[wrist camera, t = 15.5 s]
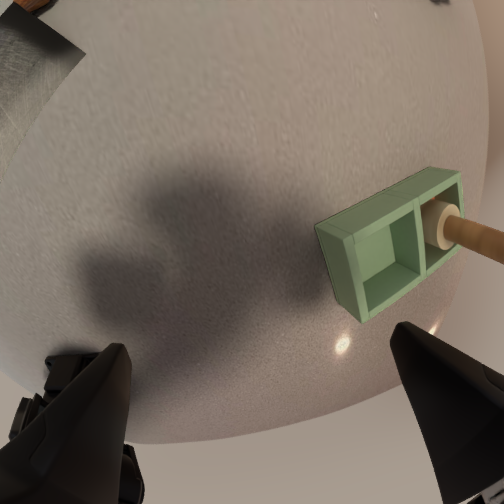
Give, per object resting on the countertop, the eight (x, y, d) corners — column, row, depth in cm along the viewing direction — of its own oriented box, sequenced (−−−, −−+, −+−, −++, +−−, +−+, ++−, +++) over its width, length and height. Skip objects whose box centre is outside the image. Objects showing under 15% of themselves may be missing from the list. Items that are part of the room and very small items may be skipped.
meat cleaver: (-25, 263, 13) (-50, 281, 10) (-77, 193, 9) (-101, 201, 5) (234, -45, 11) (246, -72, 8) (150, -81, 7) (151, -104, 3)
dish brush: (423, 240, 23) (533, 293, 11) (400, 232, 22) (526, 291, 10) (433, 202, 22) (549, 241, 10) (411, 190, 21) (543, 229, 9)
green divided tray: (336, 301, 23) (362, 324, 19) (313, 225, 20) (342, 239, 16) (438, 233, 25) (465, 244, 21) (429, 166, 22) (460, 171, 18)
